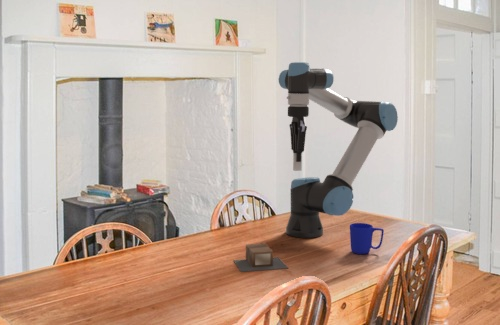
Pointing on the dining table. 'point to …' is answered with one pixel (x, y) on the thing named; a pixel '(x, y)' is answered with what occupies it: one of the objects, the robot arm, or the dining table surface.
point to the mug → (363, 237)
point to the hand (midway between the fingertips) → (297, 170)
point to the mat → (246, 267)
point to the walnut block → (259, 255)
